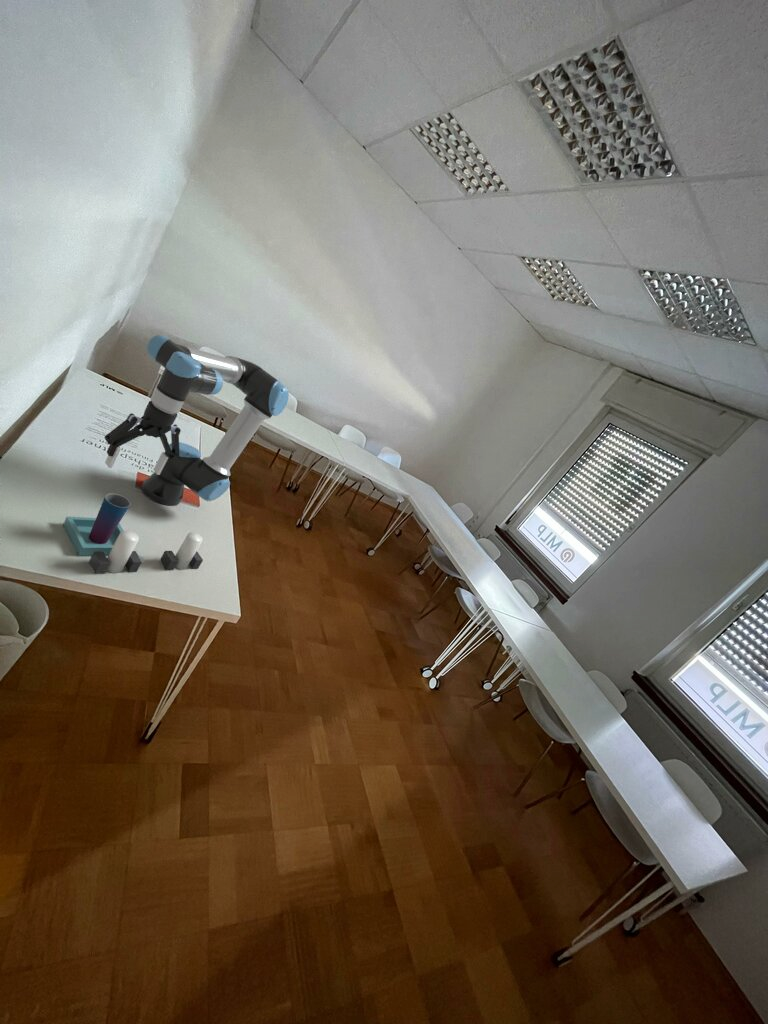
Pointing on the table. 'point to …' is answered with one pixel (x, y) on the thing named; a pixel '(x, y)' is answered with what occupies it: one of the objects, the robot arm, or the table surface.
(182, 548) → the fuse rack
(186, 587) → the table surface
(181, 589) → the table surface
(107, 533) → the cup
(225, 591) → the table surface
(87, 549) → the tray
